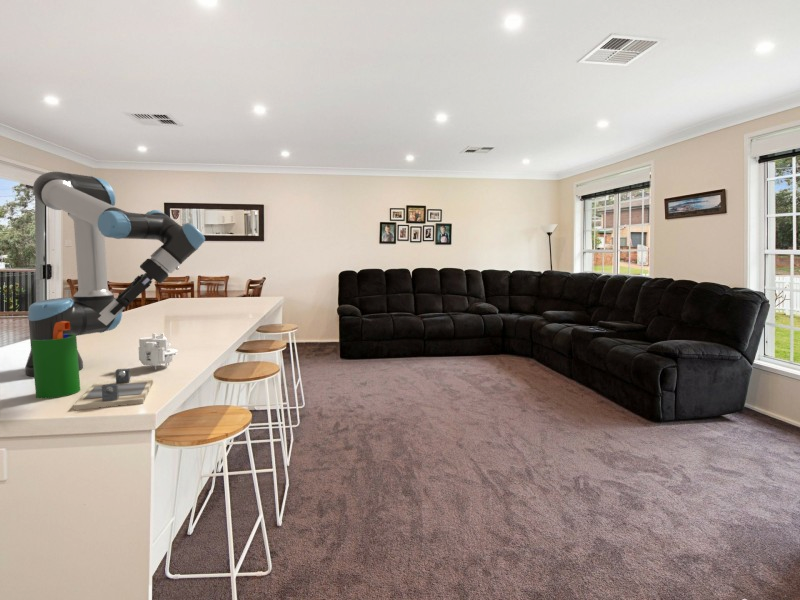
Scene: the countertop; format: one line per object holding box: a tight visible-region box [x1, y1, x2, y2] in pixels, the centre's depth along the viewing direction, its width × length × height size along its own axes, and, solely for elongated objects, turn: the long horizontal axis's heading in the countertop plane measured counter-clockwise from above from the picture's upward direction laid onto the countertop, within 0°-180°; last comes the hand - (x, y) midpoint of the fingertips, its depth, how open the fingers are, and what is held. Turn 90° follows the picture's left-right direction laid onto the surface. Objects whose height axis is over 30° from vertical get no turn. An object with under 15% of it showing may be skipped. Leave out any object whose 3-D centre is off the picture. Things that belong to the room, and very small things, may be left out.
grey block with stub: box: [115, 368, 131, 384], centre depth 133 cm, size 3×3×4 cm
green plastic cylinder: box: [30, 321, 81, 399], centre depth 126 cm, size 10×9×20 cm
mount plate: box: [73, 378, 154, 411], centre depth 126 cm, size 21×15×1 cm
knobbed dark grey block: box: [102, 383, 119, 401], centre depth 118 cm, size 3×3×4 cm
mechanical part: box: [138, 332, 179, 370], centre depth 156 cm, size 11×12×12 cm
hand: (102, 319), depth 131 cm, fingers open, 13 cm apart
